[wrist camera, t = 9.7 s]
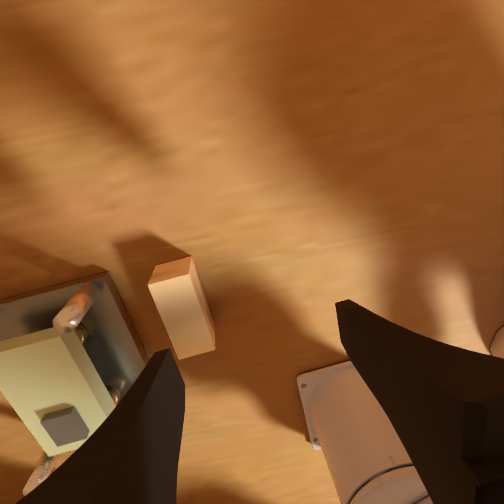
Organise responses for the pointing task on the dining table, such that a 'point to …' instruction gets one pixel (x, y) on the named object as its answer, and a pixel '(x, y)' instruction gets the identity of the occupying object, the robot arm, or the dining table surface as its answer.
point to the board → (53, 388)
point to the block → (183, 307)
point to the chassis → (80, 335)
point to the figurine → (498, 344)
